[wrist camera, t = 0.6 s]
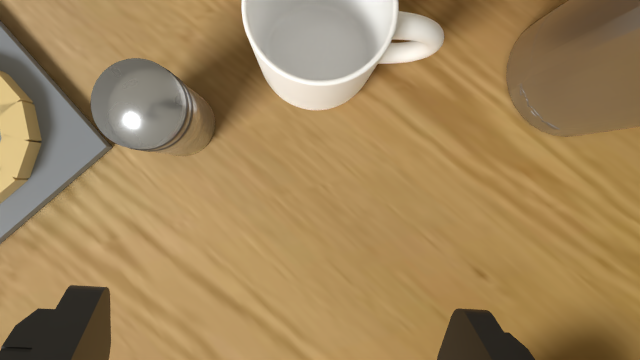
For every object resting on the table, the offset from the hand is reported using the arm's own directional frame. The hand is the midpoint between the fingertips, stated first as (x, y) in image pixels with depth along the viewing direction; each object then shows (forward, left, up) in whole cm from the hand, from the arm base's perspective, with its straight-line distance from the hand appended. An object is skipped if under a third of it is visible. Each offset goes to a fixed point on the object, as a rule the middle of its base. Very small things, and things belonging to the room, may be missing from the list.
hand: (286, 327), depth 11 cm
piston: (+2, -11, -24) cm, 27 cm away
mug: (-10, -7, -24) cm, 27 cm away
